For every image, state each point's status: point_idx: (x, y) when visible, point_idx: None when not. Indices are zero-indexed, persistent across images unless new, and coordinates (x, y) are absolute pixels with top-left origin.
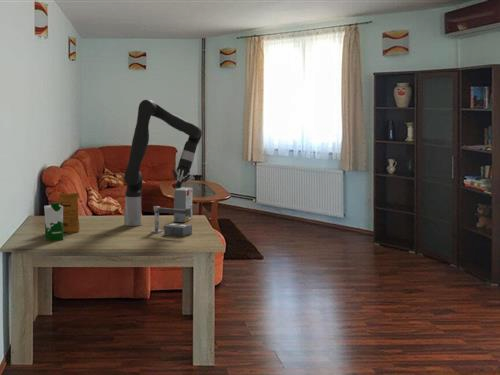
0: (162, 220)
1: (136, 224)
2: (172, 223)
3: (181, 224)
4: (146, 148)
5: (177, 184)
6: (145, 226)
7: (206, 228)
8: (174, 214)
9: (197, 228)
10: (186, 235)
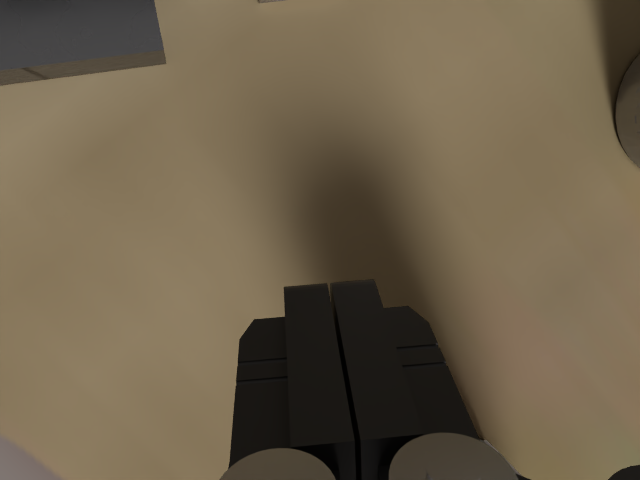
0: (597, 420)
1: (632, 76)
2: (155, 19)
3: (10, 30)
4: None
5: (354, 339)
6: (550, 114)
7: (23, 423)
8: None
9: (98, 362)
10: None
